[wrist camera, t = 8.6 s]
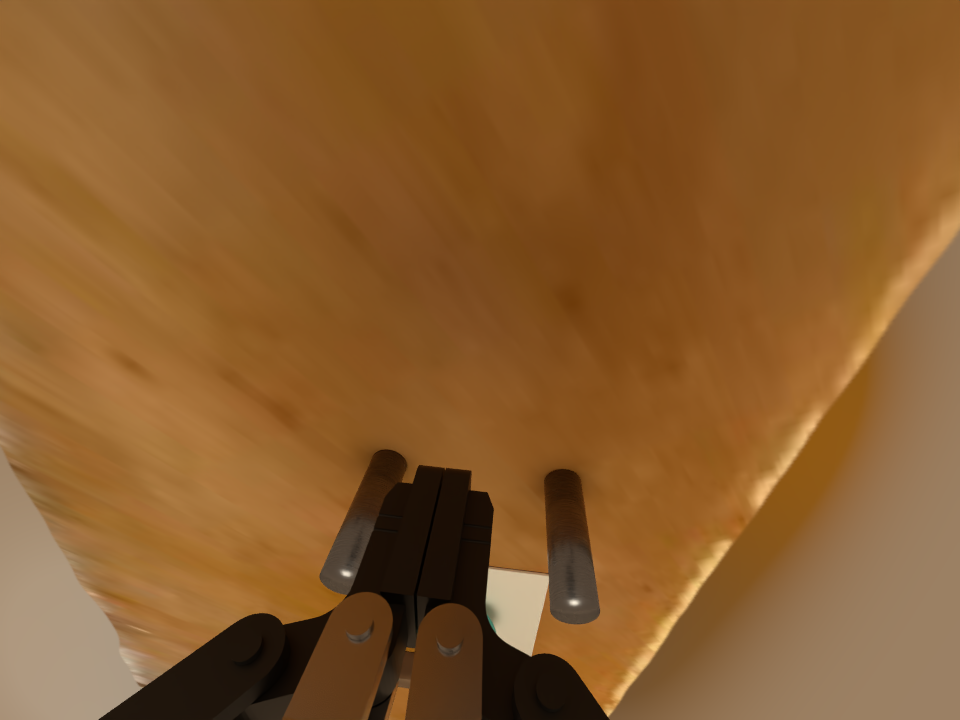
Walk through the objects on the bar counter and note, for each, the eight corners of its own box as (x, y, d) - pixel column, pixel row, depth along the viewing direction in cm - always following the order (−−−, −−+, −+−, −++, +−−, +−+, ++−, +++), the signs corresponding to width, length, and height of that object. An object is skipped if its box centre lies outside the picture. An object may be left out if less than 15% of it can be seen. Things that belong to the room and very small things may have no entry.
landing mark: (389, 554, 36) (388, 556, 36) (550, 574, 35) (550, 576, 35) (397, 636, 43) (396, 638, 43) (531, 654, 43) (531, 656, 42)
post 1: (370, 448, 30) (316, 564, 22) (405, 452, 30) (363, 569, 22) (373, 473, 31) (323, 591, 24) (407, 477, 31) (367, 597, 23)
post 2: (546, 467, 29) (553, 593, 21) (584, 471, 29) (604, 600, 21) (542, 493, 31) (547, 620, 23) (577, 497, 30) (594, 626, 23)
